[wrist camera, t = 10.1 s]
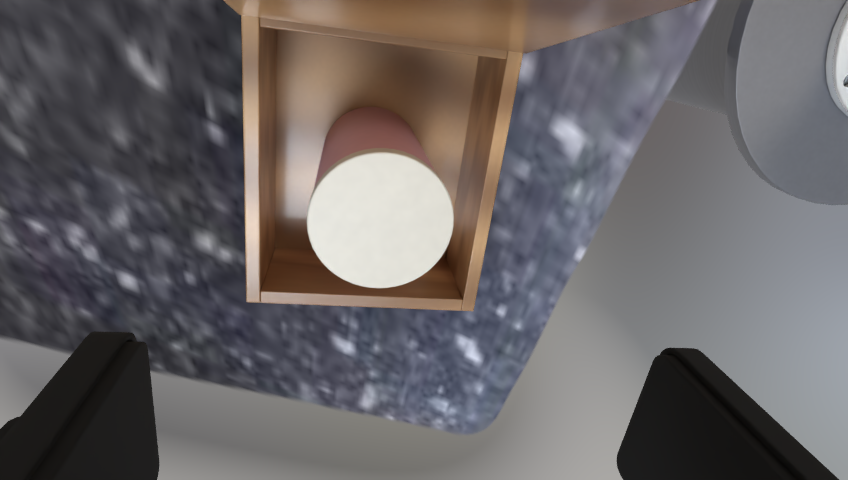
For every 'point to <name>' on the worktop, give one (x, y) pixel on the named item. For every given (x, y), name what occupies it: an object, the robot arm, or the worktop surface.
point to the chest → (332, 98)
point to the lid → (464, 18)
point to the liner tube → (377, 202)
